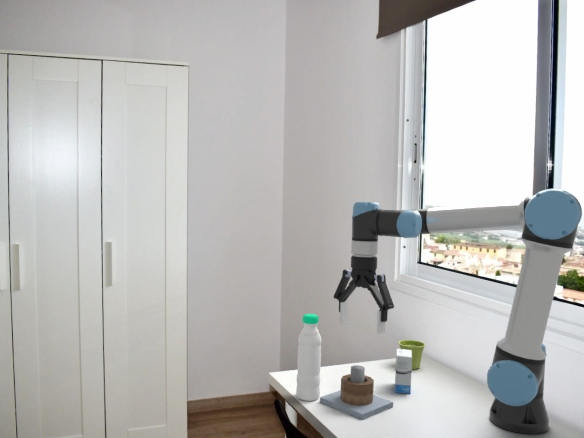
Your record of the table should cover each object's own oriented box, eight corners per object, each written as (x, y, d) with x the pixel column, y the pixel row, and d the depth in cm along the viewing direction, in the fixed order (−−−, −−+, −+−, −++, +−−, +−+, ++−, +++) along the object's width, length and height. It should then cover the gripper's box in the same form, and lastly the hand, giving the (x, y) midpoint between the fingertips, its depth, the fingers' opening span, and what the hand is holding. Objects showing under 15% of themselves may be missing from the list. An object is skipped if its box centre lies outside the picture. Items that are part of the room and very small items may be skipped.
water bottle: (324, 397, 165) (327, 315, 164) (308, 403, 160) (311, 318, 159) (306, 391, 170) (309, 311, 169) (291, 397, 165) (294, 314, 164)
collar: (378, 400, 161) (379, 380, 160) (358, 408, 154) (359, 387, 154) (354, 391, 167) (355, 372, 167) (334, 398, 161) (335, 378, 160)
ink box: (410, 394, 171) (412, 357, 170) (394, 392, 172) (396, 355, 171) (410, 385, 179) (412, 349, 178) (395, 383, 180) (396, 348, 179)
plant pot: (397, 370, 194) (398, 345, 194) (397, 362, 203) (398, 338, 203) (425, 372, 192) (426, 347, 192) (423, 364, 202) (424, 340, 201)
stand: (393, 406, 160) (394, 369, 159) (362, 419, 150) (364, 380, 150) (350, 391, 171) (352, 356, 171) (319, 402, 162) (321, 365, 161)
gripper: (408, 259, 152) (405, 334, 153) (339, 250, 170) (337, 318, 171) (392, 260, 147) (389, 339, 148) (323, 251, 165) (321, 321, 166)
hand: (361, 328), depth 160 cm, fingers open, 13 cm apart
